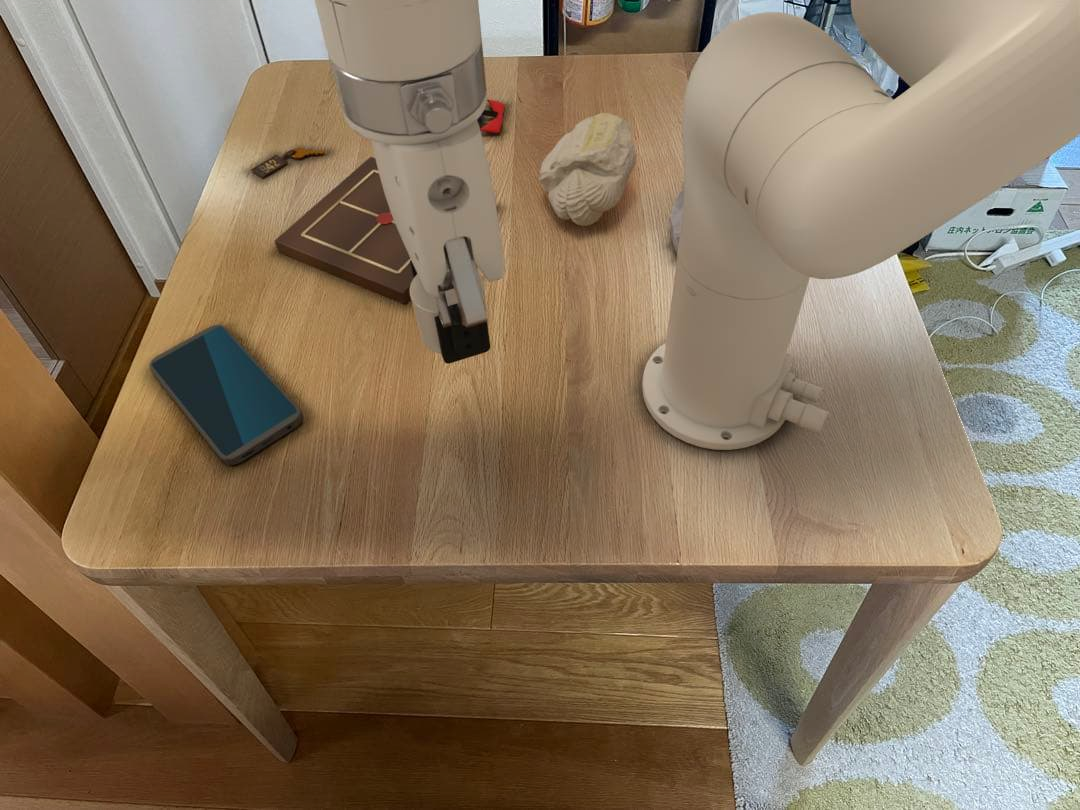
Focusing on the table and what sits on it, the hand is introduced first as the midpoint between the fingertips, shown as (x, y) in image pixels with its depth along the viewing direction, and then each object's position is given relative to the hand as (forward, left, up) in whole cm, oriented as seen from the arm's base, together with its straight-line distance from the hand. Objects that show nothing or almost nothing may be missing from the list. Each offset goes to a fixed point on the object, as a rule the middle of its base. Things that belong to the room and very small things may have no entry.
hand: (453, 324), depth 56 cm
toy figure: (+30, -38, -15) cm, 51 cm away
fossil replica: (+7, -33, -15) cm, 37 cm away
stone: (0, 0, 0) cm, 0 cm away
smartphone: (+23, +5, -15) cm, 28 cm away
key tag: (+40, -23, -15) cm, 49 cm away
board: (+23, -19, -15) cm, 34 cm away
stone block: (-7, -35, -15) cm, 39 cm away
